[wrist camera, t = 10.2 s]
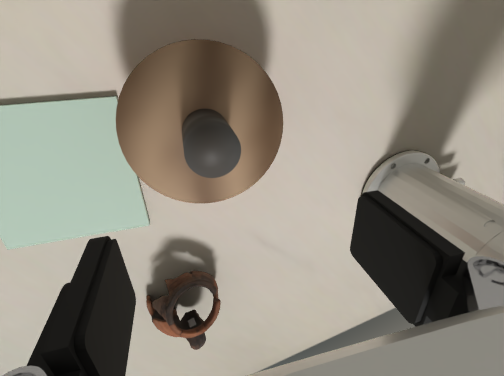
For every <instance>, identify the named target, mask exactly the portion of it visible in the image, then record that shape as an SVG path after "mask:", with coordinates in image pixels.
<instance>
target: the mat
mask: <svg viewBox="0 0 504 376" xmlns="http://www.w3.org/2000/svg"><path fill="white" fill-rule="evenodd" d="M117 104H118V98H117V96H110V97H97V98H85V99H72V100H59V101H47V102H34V103H21V104H9V105H0V238H1V239H2V241H3V243H4V245H5V246H6V248H7V250H8V249H14V248H20V247H26V246H32V245H38V244H44V243H49V242H55V241H61V240H67V239H73V238H79V237H84V236H90V235H96V234H102V233H108V232H114V231H120V230H125V229H131V228H137V227H143V226H149V225H150V221H149V217H148V213H147V210H146V206H145V202H144V198H143V194H142V190H141V187H140V183H139V179H138V176H137V174H136V173H135V172H134V171H133V170H132V168H131V167H130V165H129V164H128V162H127V161H126V159H125V157H124V155H123V153H122V150H121V147H120V145H119V141H118V137H117V132H116V109H117Z"/></svg>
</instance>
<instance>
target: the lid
mask: <svg viewBox="0 0 504 376" xmlns="http://www.w3.org/2000/svg"><path fill="white" fill-rule="evenodd" d="M116 132H117V137H118V141H119V145H120V147H121V150H122V153H123V155H124V157H125V159H126V161H127V162H128V164H129V165H130V167H131V168H132V170H133V171H134V172H135V173H136V174H137V176H138V177H139V178H140V179H141V180H142V181H143V182H145V183H146V184H147V185H148V186H149V187H151V188H152V189H154V190H156V191H157V192H159V193H161V194H163V195H165V196H167V197H170V198H172V199H175V200H179V201H183V202H189V203H212V202H218V201H222V200H226V199H229V198H231V197H234V196H236V195H238V194H240V193H242V192H244V191H245V190H247V189H248V188H250V187H251V186H252V185H254V184H255V183H256V182H257V181H258V180H259V179H260V178H261V177H262V176H263V175H264V174H265V172H266V171H267V170H268V169H269V167H270V165H271V164H272V162H273V161H274V158H275V156H276V154H277V152H278V149H279V146H280V143H281V138H282V132H283V113H282V107H281V102H280V99H279V96H278V93H277V91H276V89H275V87H274V84H273V83H272V81H271V79H270V78H269V76H268V75H267V73H266V72H265V71H264V70H263V69H262V67H261V66H260V65H259V64H258V63H257V62H255V61H254V60H253V59H252V58H251V57H249V56H248V55H247V54H245V53H244V52H242V51H240V50H238V49H236V48H234V47H232V46H230V45H227V44H224V43H221V42H217V41H211V40H195V39H194V40H186V41H180V42H176V43H172V44H169V45H167V46H165V47H162V48H160V49H158V50H156V51H155V52H153V53H152V54H150V55H149V56H147V57H146V58H145V59H144V60H143V61H142V62H140V63H139V64H138V65H137V67H136V68H135V69H134V70H133V71H132V73H131V74H130V75H129V77H128V79H127V80H126V82H125V84H124V86H123V88H122V91H121V93H120V96H119V100H118V104H117V109H116Z"/></svg>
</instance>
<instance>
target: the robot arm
mask: <svg viewBox="0 0 504 376" xmlns="http://www.w3.org/2000/svg"><path fill="white" fill-rule="evenodd" d="M350 251H351V254H352V256H353V257H354V258H355V259H356V261H357V262H358V263H359V264H360V265H361V267H362V268H363V269H364V270H365V271H366V273H367V274H368V275H369V276H370V277H371V278H372V280H373V281H374V282H375V283H376V284H377V286H378V287H379V288H380V289H381V290H382V292H383V293H384V294H385V295H386V296H387V298H388V299H389V300H390V301H391V302H392V303H393V305H394V306H395V307H396V308H397V309H398V311H399V312H400V313H401V314H402V315H403V317H404V318H405V319H406V320H407V321H408V322H409V323H411V324H414V325H415V327H414V328H410V329H407V330H403V331H400V332H396V333H392V334H389V335H385V336H382V337H378V338H374V339H371V340H367V341H364V342H360V343H357V344H354V345H350V346H347V347H343V348H340V349H336V350H333V351H329V352H326V353H323V354H319V355H316V356H312V357H309V358H305V359H302V360H298V361H295V362H292V363H288V364H285V365H281V366H278V367H274V368H271V369H268V370H264V371H261V372H257V373H254V374H251V375H247V376H504V205H503V204H501V203H499V202H497V201H495V200H493V199H491V198H489V197H487V196H485V195H483V194H481V193H479V192H477V191H475V190H473V189H471V188H469V187H467V186H465V181H464V180H463V179H462V178H458V179H450V178H448V177H446V176H444V175H442V174H440V170H439V166H438V164H437V162H436V160H435V159H434V158H432V157H431V156H429V155H428V154H425V153H423V152H420V151H405V152H402V153H399V154H396V155H395V156H393V157H391V158H389V159H388V160H386V161H385V162H384V163H382V164H381V165H380V166H379V167H378V168H377V169H376V170H375V171H374V172H373V174H372V175H371V176H370V178H369V179H368V181H367V183H366V185H365V187H364V190H363V192H362V195H361V197H359V199H358V203H357V209H356V216H355V222H354V228H353V234H352V240H351V246H350ZM135 305H136V297H135V292H134V290H133V287H132V284H131V281H130V278H129V275H128V272H127V269H126V266H125V263H124V260H123V257H122V254H121V251H120V248H119V246H118V243H117V240H116V239H113V240H111V238H110V237H109V236H105V237H99V238H94V239H90V240H89V241H88V243H87V246H86V248H85V250H84V253H83V255H82V257H81V260H80V262H79V264H78V267H77V269H76V271H75V273H74V276H73V278H72V280H71V283H67V284H65V285H64V286H63V288H62V289H61V292H60V294H59V296H58V298H57V300H56V303H55V305H54V307H53V309H52V311H51V314H50V316H49V318H48V320H47V322H46V325H45V327H44V329H43V331H42V333H41V335H40V338H39V340H38V342H37V344H36V346H35V349H34V351H33V353H32V355H31V357H30V360H29V362H28V364H27V366H24V367H19V368H17V369H14V370H12V371H10V372H8V373H6V374H4V375H3V376H125V373H126V366H127V360H128V353H129V346H130V339H131V332H132V325H133V318H134V312H135Z"/></svg>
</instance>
